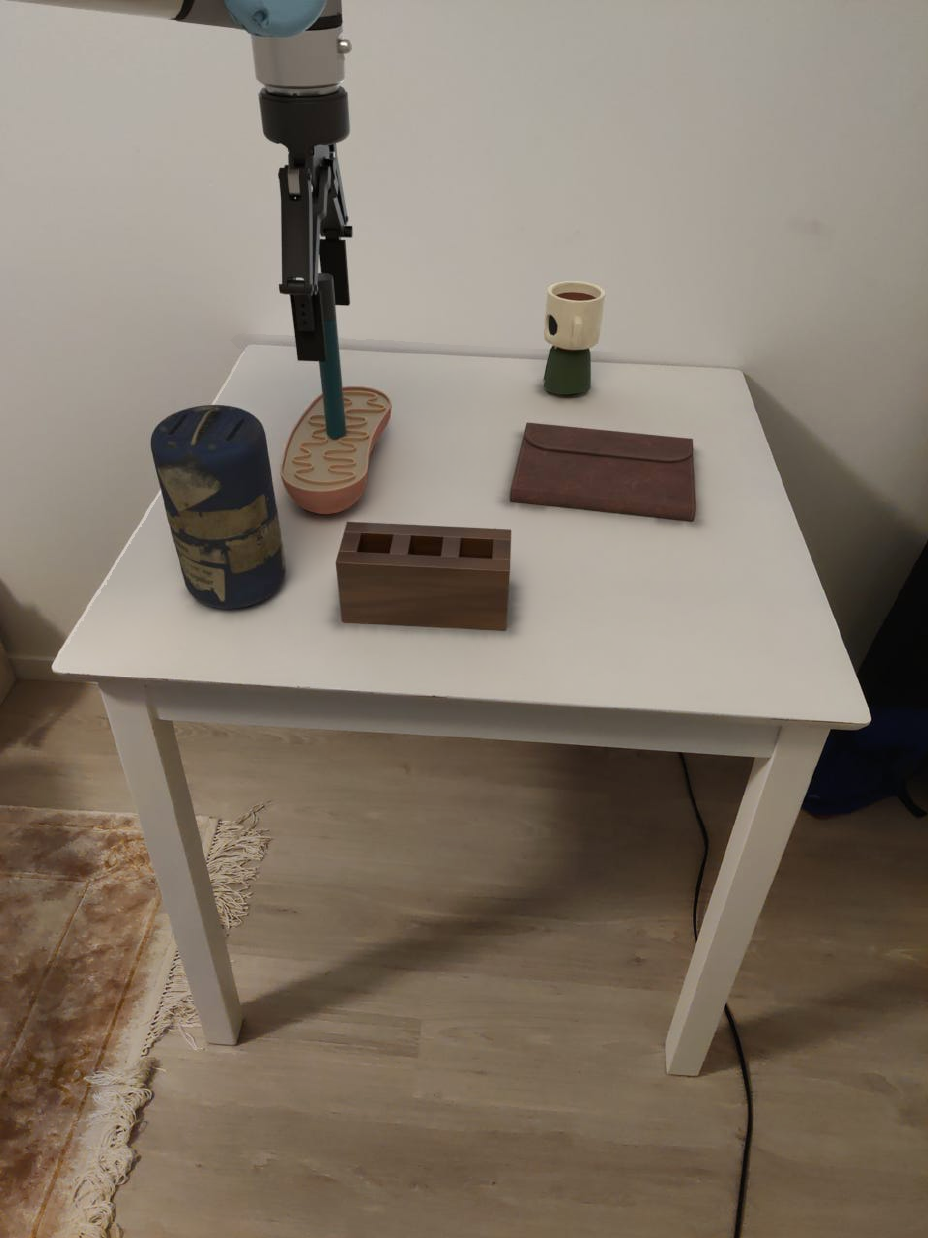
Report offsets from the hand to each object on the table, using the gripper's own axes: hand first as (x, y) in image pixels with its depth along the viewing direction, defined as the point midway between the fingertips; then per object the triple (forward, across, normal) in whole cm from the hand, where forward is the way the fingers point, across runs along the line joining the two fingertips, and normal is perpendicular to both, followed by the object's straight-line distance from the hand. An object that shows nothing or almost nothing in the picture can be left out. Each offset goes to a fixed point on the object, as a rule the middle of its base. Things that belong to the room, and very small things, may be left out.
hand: (325, 330), depth 86 cm
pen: (+12, 0, 0) cm, 12 cm away
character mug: (+17, +23, -26) cm, 39 cm away
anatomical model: (+17, 0, 0) cm, 17 cm away
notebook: (+17, +2, -30) cm, 35 cm away
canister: (+17, -21, +6) cm, 27 cm away
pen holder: (+17, -22, -12) cm, 30 cm away
